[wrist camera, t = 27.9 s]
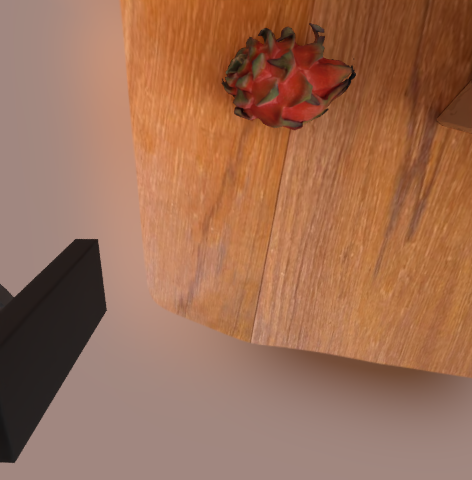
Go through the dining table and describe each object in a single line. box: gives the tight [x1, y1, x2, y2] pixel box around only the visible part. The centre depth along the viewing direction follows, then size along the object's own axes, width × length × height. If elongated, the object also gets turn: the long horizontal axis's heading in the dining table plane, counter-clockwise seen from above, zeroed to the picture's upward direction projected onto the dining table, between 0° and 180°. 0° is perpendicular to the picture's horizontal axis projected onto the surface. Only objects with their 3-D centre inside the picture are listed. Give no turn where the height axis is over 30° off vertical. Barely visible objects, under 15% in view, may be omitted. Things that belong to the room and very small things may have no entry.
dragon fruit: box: [221, 23, 356, 130], centre depth 39 cm, size 8×8×12 cm
